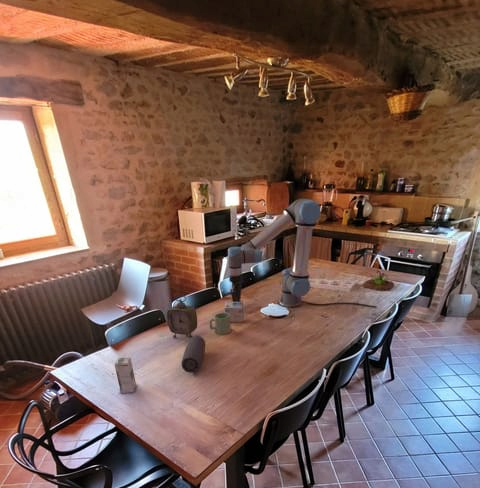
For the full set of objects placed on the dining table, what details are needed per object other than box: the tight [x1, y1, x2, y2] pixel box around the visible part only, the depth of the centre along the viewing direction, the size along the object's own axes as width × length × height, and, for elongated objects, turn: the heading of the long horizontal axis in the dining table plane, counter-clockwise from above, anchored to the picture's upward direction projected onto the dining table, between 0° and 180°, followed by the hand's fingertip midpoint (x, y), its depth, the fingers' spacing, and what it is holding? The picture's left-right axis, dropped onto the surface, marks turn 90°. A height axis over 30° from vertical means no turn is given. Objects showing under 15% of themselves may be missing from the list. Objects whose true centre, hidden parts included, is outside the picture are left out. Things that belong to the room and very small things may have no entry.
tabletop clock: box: [166, 293, 198, 340], centre depth 196 cm, size 14×9×25 cm, turn 70°
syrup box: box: [114, 356, 137, 394], centre depth 154 cm, size 6×6×14 cm
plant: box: [363, 270, 395, 292], centre depth 260 cm, size 20×20×11 cm
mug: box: [208, 312, 232, 335], centre depth 204 cm, size 12×9×10 cm
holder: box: [308, 278, 358, 293], centre depth 272 cm, size 45×18×3 cm, turn 59°
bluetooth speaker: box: [181, 335, 206, 374], centre depth 173 cm, size 23×9×10 cm, turn 178°
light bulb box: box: [224, 301, 245, 323], centre depth 216 cm, size 11×7×11 cm, turn 84°
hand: (237, 312), depth 222 cm, fingers closed
